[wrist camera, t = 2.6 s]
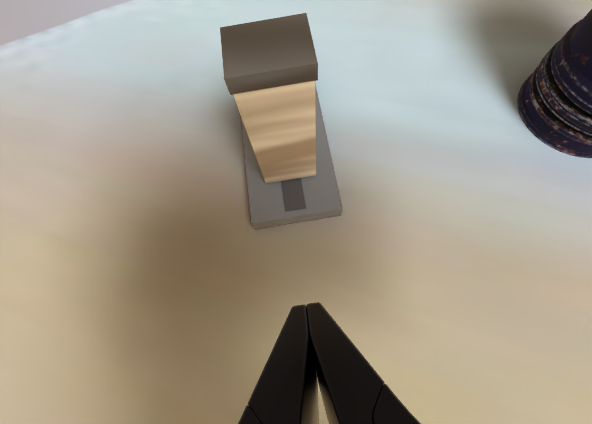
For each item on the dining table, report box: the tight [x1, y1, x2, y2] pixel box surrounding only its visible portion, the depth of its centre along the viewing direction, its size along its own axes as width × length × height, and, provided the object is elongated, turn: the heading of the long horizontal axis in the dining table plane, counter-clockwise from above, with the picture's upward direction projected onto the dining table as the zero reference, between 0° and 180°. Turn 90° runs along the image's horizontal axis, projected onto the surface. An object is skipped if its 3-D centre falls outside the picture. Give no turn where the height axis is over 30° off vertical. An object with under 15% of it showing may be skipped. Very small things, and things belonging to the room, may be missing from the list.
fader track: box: [240, 85, 342, 229], centre depth 26 cm, size 16×7×2 cm, turn 8°
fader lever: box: [220, 13, 318, 183], centre depth 19 cm, size 3×4×11 cm
